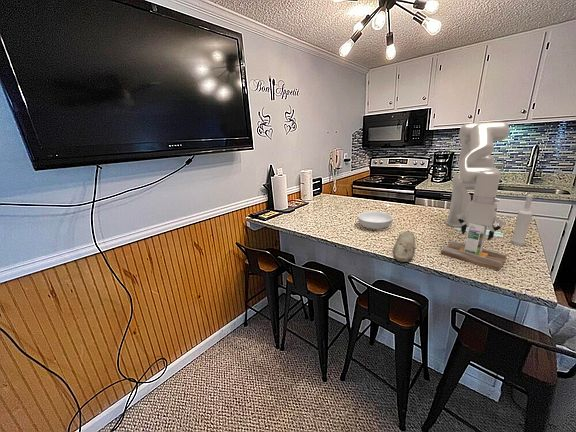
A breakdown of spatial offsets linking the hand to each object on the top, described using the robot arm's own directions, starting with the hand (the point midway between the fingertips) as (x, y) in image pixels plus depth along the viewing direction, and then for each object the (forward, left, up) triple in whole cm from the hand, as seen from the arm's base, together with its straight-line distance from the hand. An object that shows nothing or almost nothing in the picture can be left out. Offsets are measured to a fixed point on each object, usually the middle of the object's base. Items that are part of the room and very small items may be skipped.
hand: (476, 236), depth 111 cm
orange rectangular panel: (0, 0, -9) cm, 9 cm away
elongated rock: (+11, -26, -11) cm, 30 cm away
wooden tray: (0, 0, -11) cm, 11 cm away
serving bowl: (-5, -53, -11) cm, 55 cm away
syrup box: (0, 0, -8) cm, 8 cm away
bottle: (-31, +11, -11) cm, 34 cm away
